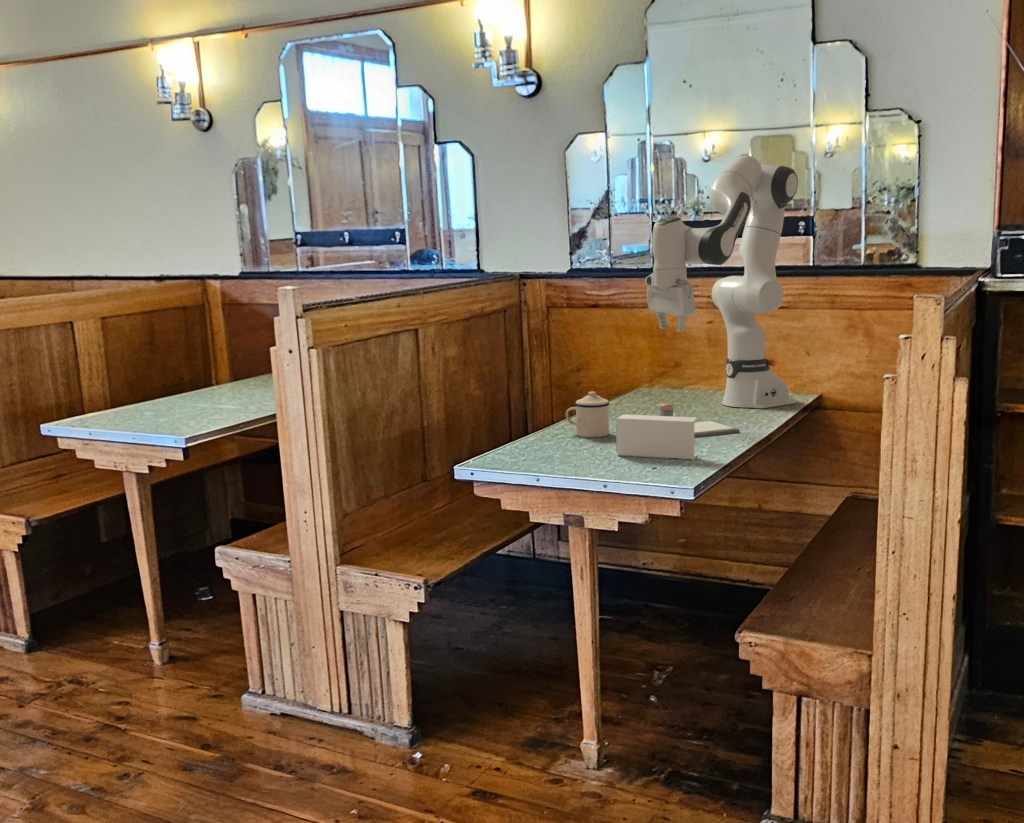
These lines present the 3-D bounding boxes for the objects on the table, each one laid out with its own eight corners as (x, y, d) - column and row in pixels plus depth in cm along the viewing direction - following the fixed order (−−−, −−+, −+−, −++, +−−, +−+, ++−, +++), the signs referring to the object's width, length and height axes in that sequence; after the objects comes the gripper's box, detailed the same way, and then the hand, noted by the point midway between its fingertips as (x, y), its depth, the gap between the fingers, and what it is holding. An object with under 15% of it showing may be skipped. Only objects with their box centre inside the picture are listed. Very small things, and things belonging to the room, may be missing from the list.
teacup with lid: (613, 432, 284) (613, 389, 282) (604, 438, 276) (604, 394, 274) (571, 430, 288) (570, 388, 286) (561, 436, 280) (560, 393, 278)
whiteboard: (712, 423, 292) (712, 420, 291) (739, 432, 279) (739, 428, 278) (631, 432, 283) (631, 428, 283) (655, 441, 270) (655, 437, 270)
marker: (669, 430, 278) (669, 403, 277) (675, 433, 275) (675, 405, 273) (657, 432, 277) (657, 404, 275) (663, 434, 273) (663, 406, 272)
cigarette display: (698, 456, 253) (698, 417, 251) (693, 460, 248) (693, 421, 246) (618, 451, 260) (618, 414, 259) (612, 456, 255) (611, 418, 254)
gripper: (700, 279, 274) (702, 332, 277) (662, 276, 293) (664, 325, 296) (679, 281, 272) (681, 334, 275) (642, 278, 291) (644, 327, 294)
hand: (672, 329), depth 285 cm, fingers open, 8 cm apart
